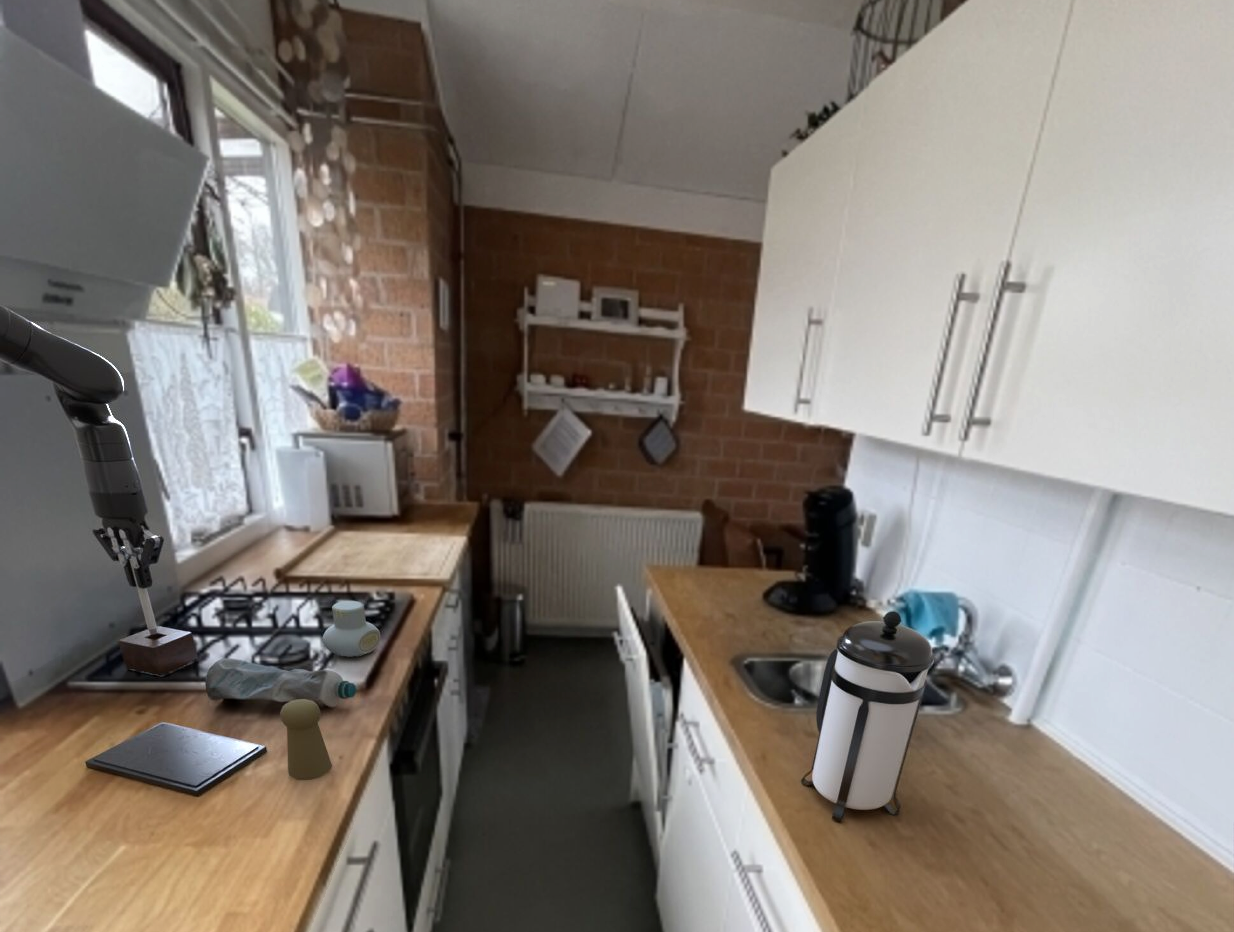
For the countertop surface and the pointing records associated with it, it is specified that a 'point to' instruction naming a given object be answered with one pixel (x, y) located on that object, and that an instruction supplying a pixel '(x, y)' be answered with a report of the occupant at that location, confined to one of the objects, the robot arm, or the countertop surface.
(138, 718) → the countertop surface
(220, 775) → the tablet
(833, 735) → the coffee press
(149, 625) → the stylus
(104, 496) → the robot arm
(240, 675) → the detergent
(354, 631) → the air freshener
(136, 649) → the pen stand
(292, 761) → the olive green pawn
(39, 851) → the countertop surface
